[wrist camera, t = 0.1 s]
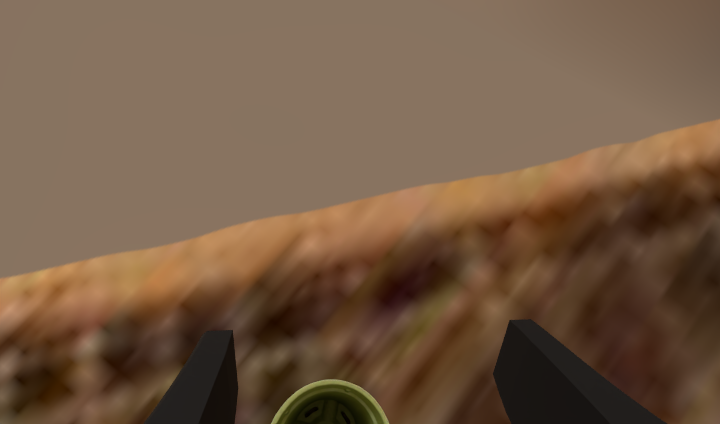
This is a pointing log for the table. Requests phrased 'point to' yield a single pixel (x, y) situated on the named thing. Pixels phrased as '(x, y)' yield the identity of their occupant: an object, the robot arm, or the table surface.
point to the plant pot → (331, 405)
